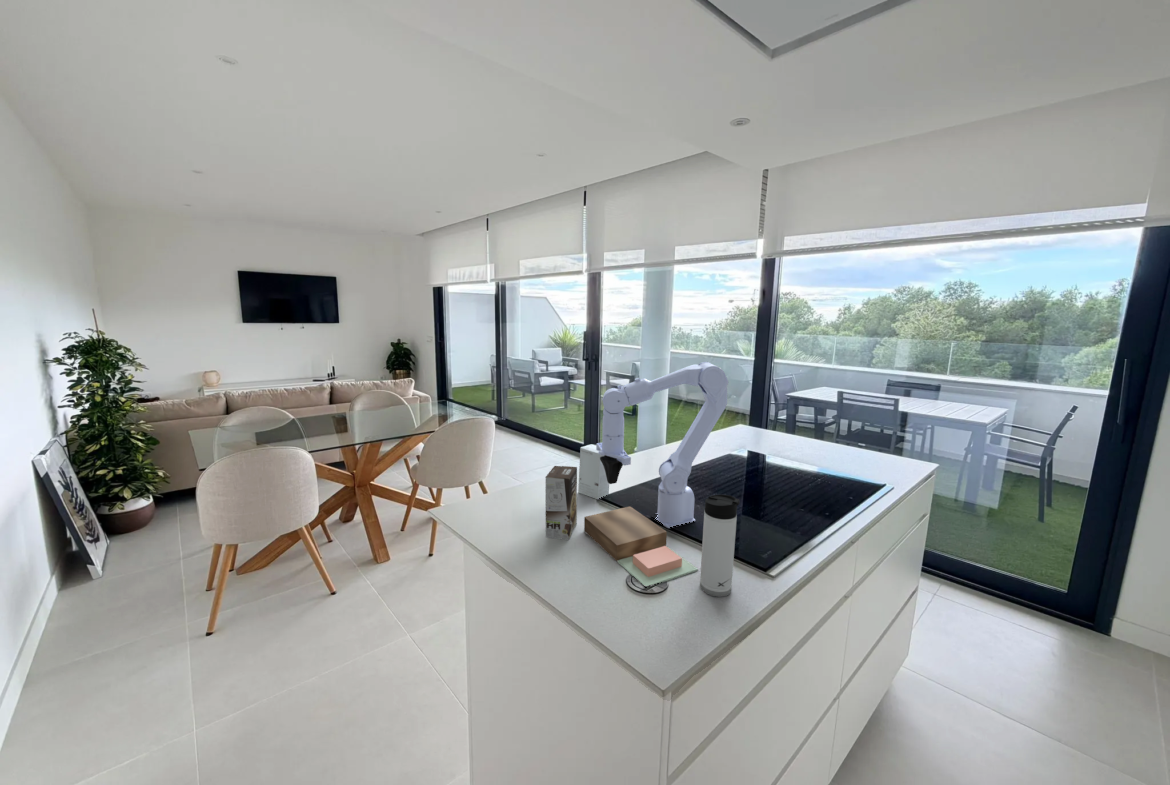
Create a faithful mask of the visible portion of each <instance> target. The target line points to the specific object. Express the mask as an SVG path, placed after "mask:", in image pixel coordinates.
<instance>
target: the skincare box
mask: <svg viewBox="0 0 1170 785" xmlns="http://www.w3.org/2000/svg"><path fill="white" fill-rule="evenodd" d="M579 448H580V449H579V450H580V452H579V466H578V467H579V470H578V484H577V494H580V495H584V496H587V497H590V498H593V499H595V500H600V499H602V498H604V497H606V495H607V496H609V495H608V494H610V484H609V483H608V481H607V477H606V473H605V469H604V466H603V464H602V462H601V460H600V457H602V456H604V455H600V454H599V453H598V450H596V444H587V445H584V446H581V447H579ZM603 496H604V497H603ZM601 497H602V498H601ZM599 498H600V499H599Z"/></svg>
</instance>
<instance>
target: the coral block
mask: <svg viewBox="0 0 1170 785" xmlns="http://www.w3.org/2000/svg"><path fill="white" fill-rule="evenodd" d="M666 546H667V545H666ZM666 546H663V547H660V548H656V549H653V550H649V551H646V552H642V553H639V554H635V555H633V564H634V565H635V566H636V567H638V568H639V569H640V570H641V571H642V572H643V573H644V574H645V575H647V576H648V577H650V576H653V575H656V574H660V573H663V572H666V571H669V570H672V569H675V568H678V567H682V558H681V557H682V556H681V555H680V556H681V557H680V556H678V555H679V554H678V553H677V552H676V553H677V554H678V555H677V554H676V553H674V552H675V551H674V550H673V549H672V550H673V551H674V552H673V551H672V550H670V549H671V548H670V547H669V546H668V547H669V548H670V549H669V548H668V547H666Z"/></svg>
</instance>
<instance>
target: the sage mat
mask: <svg viewBox="0 0 1170 785" xmlns="http://www.w3.org/2000/svg"><path fill="white" fill-rule="evenodd" d="M666 547H668V548H669V549H670V550H672V551H673V552H674V553H676V554H677V555H678V556H680V557H681V558H682V567H678V568H675V569H672V570H669V571H666V572H663V573H660V574H656V575H653V576H650V577H648V576H647V575H645V574H644V573H643V572H642V571H641V570H640V569H639V568H638V567H636V566H635V565H634V564H633V556H631V557H628V558H624V559H621V560H618V561H617V563H618V564H619V565H620V566H621V567H622V568H624V569H625V571H627V573H629V575H630V576H632V577H633V576H634V577H635V578H636V579H638V580H639V581H640V582H641V583H642V584H643V585H645V586H649V585H653V584H656V585H658V584H657V583H659V584H662V583H665V582H668V581H671V580H674V579H677V578H681V577H684V576H686V575H688V574H692V573H695V572H698V571H699V568H697V567H696V566H694V565H693V564H692V563H691V562H689V561H688V560H687V559H685V558H684V557H682V556H681V555H680V554H679V553H677V552H676V551H675V550H673V549H672V548H670V547H669V546H667V545H666ZM634 577H633V578H634ZM635 578H634V579H635ZM636 579H635V580H636ZM639 581H638V582H639ZM640 582H639V583H640ZM661 582H662V583H661ZM641 583H640V584H641ZM642 584H641V585H642ZM643 585H642V586H643ZM653 586H654V585H653Z"/></svg>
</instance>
